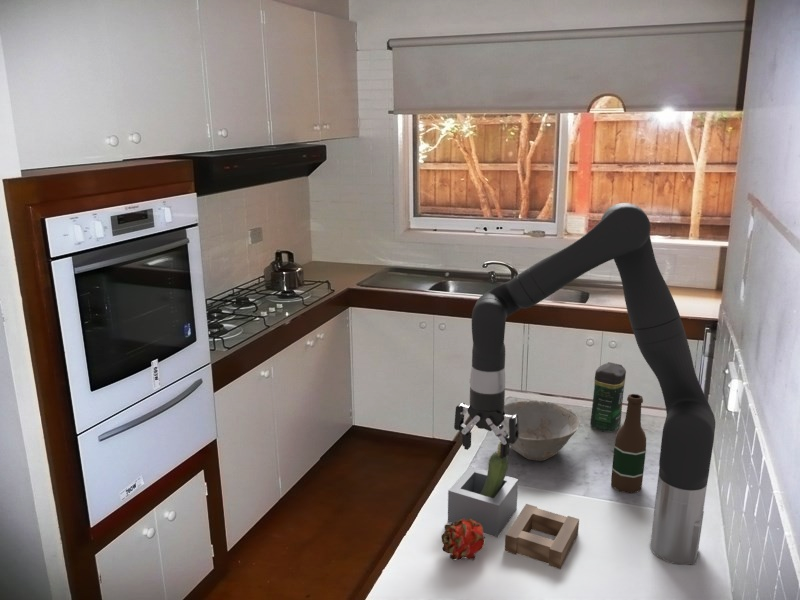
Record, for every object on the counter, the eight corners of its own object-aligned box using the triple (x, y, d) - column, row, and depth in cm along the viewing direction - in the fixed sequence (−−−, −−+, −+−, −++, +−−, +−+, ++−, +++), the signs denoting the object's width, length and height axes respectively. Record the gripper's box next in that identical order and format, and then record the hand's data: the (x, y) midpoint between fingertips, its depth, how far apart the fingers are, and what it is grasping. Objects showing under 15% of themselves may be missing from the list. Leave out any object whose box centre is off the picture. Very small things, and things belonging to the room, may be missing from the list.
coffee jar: (614, 435, 192) (620, 374, 187) (586, 428, 196) (592, 368, 191) (623, 422, 200) (629, 363, 194) (597, 415, 204) (602, 358, 198)
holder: (516, 509, 157) (518, 479, 155) (497, 537, 147) (498, 505, 145) (469, 495, 163) (470, 465, 161) (447, 521, 153) (448, 490, 151)
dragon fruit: (441, 574, 138) (473, 552, 148) (472, 566, 133) (503, 544, 143) (425, 533, 140) (458, 515, 150) (455, 524, 135) (487, 505, 144)
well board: (577, 534, 148) (579, 519, 147) (560, 569, 137) (561, 552, 136) (525, 518, 154) (526, 503, 153) (504, 550, 143) (505, 534, 142)
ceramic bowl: (487, 467, 176) (488, 432, 173) (500, 427, 197) (501, 396, 194) (575, 480, 169) (577, 444, 167) (579, 437, 191) (581, 405, 188)
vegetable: (480, 507, 158) (503, 430, 153) (496, 517, 156) (519, 439, 151) (470, 513, 155) (493, 435, 150) (486, 523, 152) (509, 443, 147)
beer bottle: (648, 484, 167) (658, 395, 160) (634, 497, 162) (644, 406, 155) (618, 473, 172) (627, 386, 166) (604, 485, 167) (612, 396, 160)
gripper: (525, 385, 146) (521, 453, 150) (464, 373, 152) (462, 438, 157) (512, 398, 139) (509, 468, 144) (450, 385, 146) (448, 452, 151)
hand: (485, 452), depth 151 cm, fingers open, 8 cm apart
